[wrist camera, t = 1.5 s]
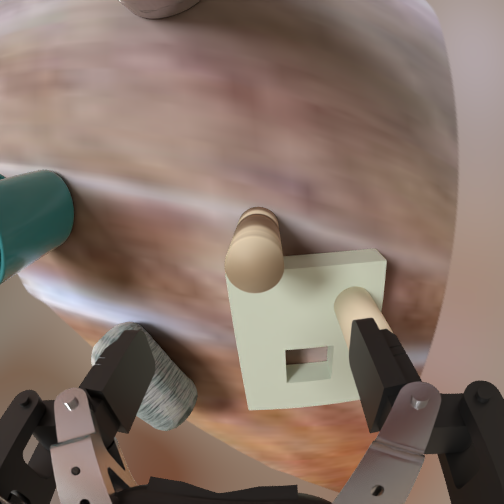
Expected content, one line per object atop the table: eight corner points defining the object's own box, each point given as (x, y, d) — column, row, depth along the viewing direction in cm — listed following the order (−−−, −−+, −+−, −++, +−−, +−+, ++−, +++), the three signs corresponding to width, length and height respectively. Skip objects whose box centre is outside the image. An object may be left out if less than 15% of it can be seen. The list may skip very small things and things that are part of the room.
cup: (32, 137, 23) (-42, 147, 13) (90, 206, 26) (15, 242, 15) (5, 195, 26) (-59, 219, 15) (56, 261, 28) (-6, 306, 18)
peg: (235, 208, 25) (220, 240, 17) (276, 205, 25) (282, 235, 17) (240, 247, 27) (228, 295, 18) (280, 244, 26) (286, 291, 18)
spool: (226, 405, 30) (166, 459, 22) (180, 397, 36) (128, 436, 28) (173, 302, 29) (93, 344, 21) (135, 311, 35) (71, 343, 27)
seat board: (229, 260, 27) (213, 312, 19) (375, 248, 26) (416, 292, 18) (250, 392, 33) (245, 450, 25) (359, 381, 32) (376, 436, 24)
